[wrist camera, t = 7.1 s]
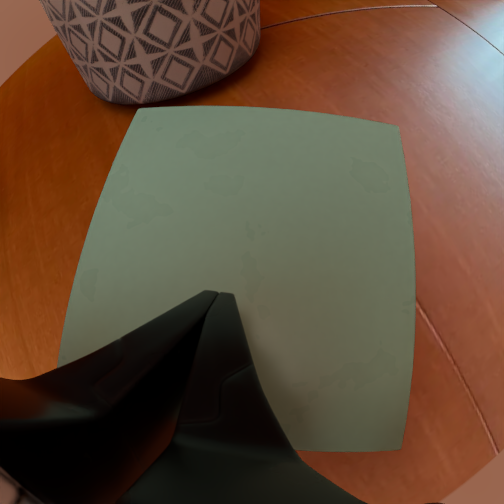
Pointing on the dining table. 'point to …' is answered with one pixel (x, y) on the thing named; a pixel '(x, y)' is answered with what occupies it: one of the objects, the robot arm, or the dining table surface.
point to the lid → (266, 257)
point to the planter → (155, 44)
